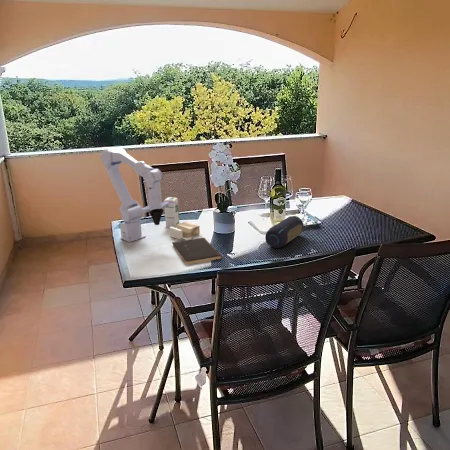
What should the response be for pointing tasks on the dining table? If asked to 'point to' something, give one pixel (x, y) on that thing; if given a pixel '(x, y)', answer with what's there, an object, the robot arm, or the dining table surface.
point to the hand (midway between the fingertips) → (156, 224)
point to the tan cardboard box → (189, 230)
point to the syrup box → (172, 212)
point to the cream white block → (176, 233)
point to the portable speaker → (284, 232)
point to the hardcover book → (196, 250)
